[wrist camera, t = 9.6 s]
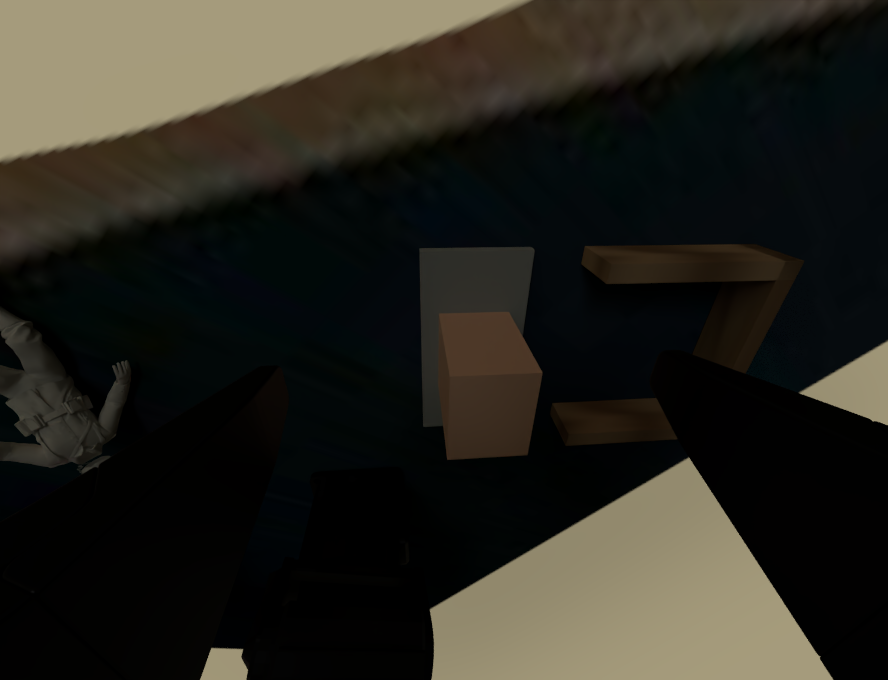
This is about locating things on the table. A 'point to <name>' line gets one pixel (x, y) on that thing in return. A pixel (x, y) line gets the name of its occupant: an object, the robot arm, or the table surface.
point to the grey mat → (466, 299)
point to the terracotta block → (486, 385)
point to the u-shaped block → (721, 341)
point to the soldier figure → (54, 403)
